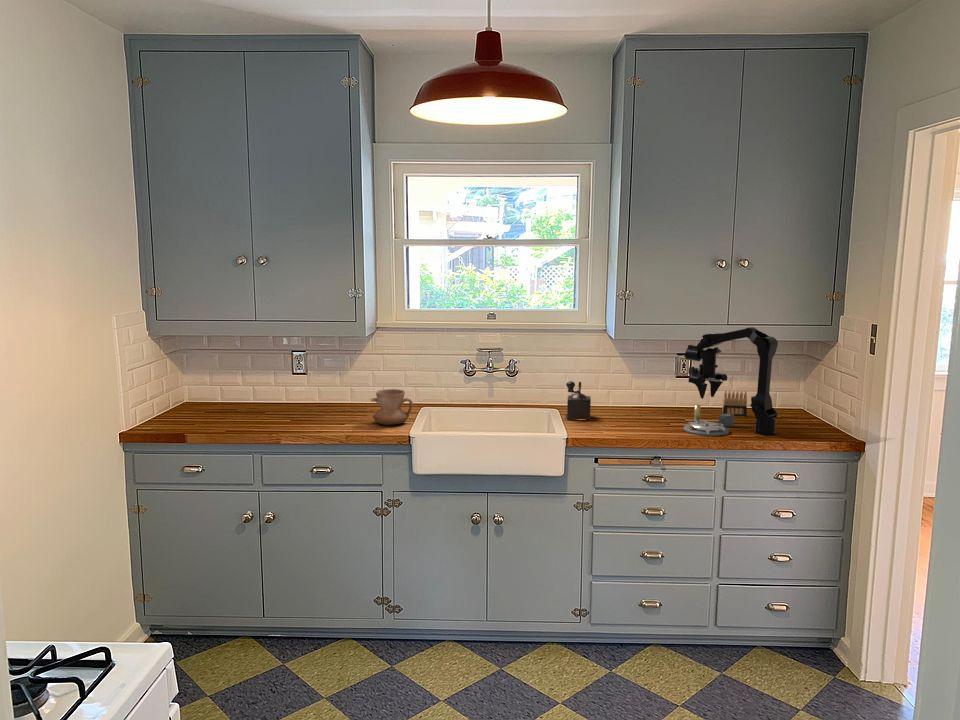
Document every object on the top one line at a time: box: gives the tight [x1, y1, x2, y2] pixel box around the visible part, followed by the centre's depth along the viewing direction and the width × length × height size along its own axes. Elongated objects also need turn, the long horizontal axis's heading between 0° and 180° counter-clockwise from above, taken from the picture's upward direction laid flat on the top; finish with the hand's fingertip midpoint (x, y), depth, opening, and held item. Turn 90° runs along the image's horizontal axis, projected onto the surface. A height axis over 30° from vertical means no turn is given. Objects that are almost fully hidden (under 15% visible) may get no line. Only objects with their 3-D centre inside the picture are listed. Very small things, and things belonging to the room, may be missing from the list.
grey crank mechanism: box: [687, 404, 726, 432], centre depth 291 cm, size 20×15×7 cm
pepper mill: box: [565, 380, 592, 420], centre depth 309 cm, size 16×11×18 cm
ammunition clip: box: [721, 389, 748, 417], centre depth 317 cm, size 11×2×12 cm, turn 83°
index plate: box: [683, 424, 730, 437], centre depth 289 cm, size 18×18×1 cm
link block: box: [718, 413, 735, 428], centre depth 298 cm, size 3×6×5 cm, turn 122°
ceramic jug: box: [370, 388, 414, 426], centre depth 299 cm, size 18×14×14 cm
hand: (707, 397), depth 303 cm, fingers open, 6 cm apart
